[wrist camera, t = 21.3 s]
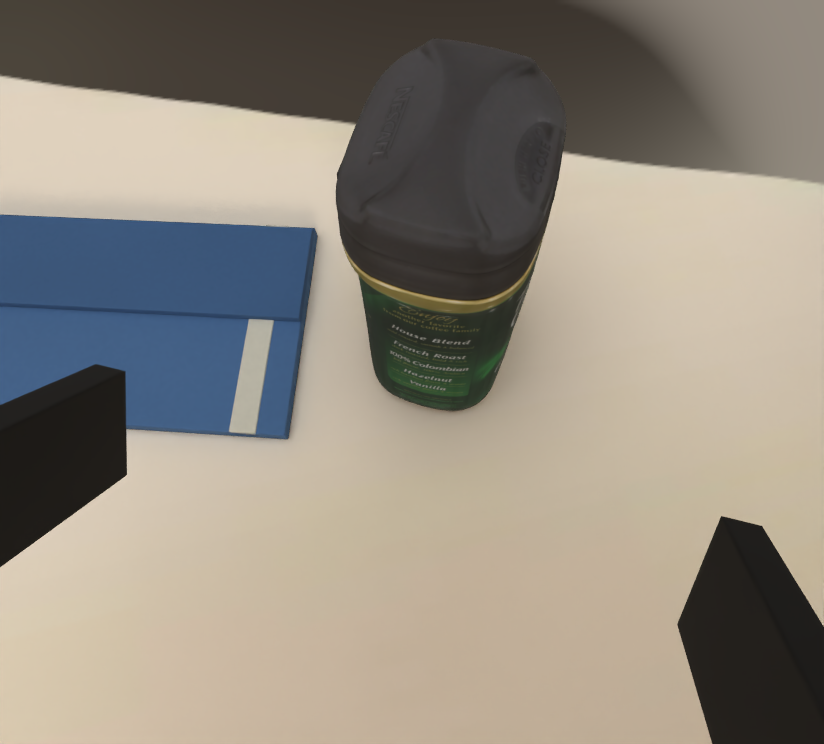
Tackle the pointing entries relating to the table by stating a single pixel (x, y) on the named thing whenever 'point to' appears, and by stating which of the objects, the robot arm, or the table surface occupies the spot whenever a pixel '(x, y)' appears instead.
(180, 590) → the table surface
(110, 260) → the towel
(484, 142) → the coffee jar
